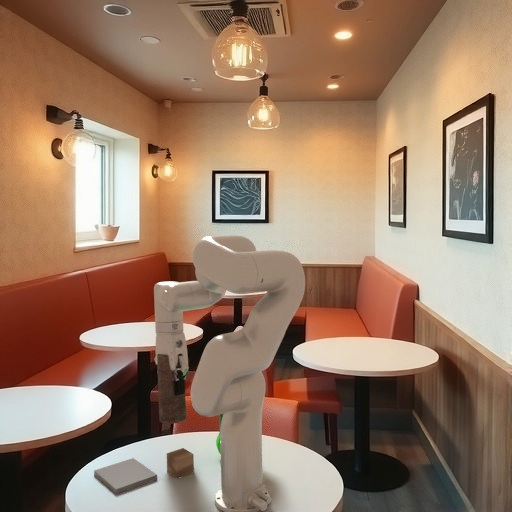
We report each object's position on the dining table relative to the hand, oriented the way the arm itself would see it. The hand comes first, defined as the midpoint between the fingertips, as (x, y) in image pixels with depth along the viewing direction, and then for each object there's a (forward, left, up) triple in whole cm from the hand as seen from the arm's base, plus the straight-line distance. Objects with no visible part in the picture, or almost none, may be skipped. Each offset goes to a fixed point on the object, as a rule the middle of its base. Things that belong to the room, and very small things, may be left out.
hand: (171, 391), depth 143 cm
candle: (0, 0, -9) cm, 9 cm away
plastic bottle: (-10, -13, -19) cm, 25 cm away
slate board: (-1, +15, -19) cm, 24 cm away
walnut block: (-8, +3, -19) cm, 21 cm away
